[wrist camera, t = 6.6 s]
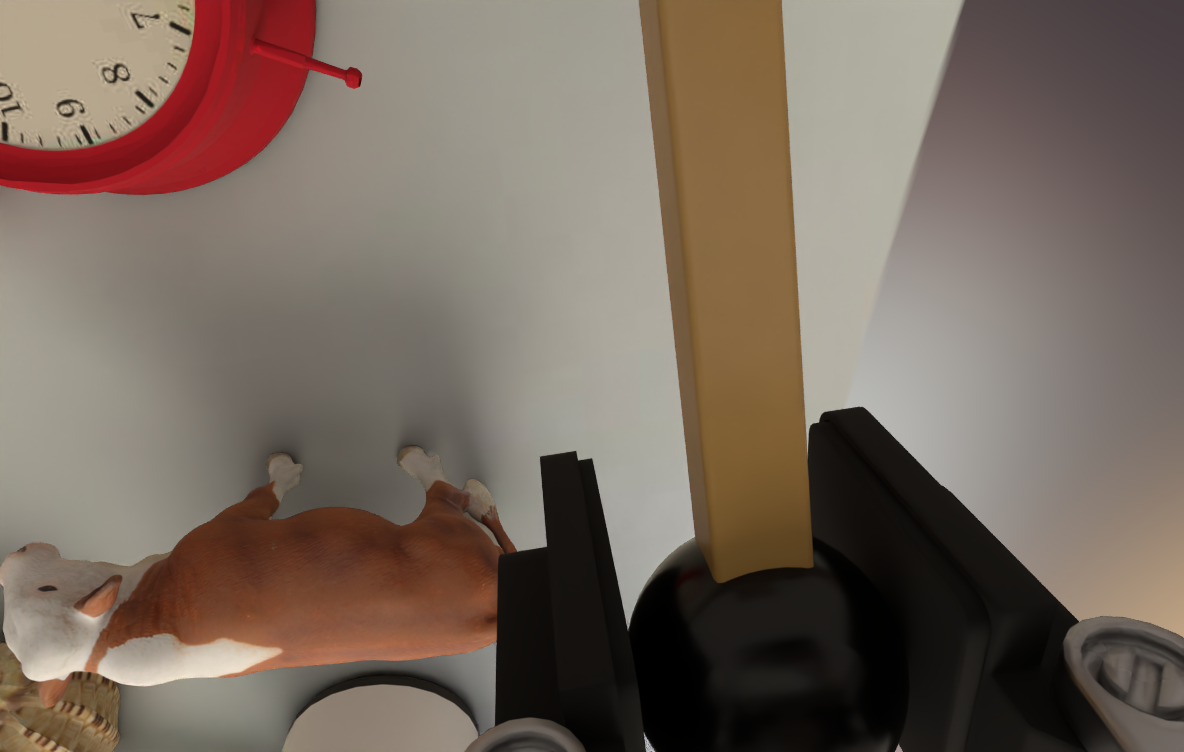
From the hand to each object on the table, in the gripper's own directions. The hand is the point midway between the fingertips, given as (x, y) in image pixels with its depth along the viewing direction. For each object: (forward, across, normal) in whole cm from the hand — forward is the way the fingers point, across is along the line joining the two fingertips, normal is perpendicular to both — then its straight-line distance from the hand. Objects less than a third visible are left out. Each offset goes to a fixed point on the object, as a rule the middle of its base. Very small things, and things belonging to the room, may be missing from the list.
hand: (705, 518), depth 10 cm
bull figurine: (+13, +10, +6) cm, 18 cm away
